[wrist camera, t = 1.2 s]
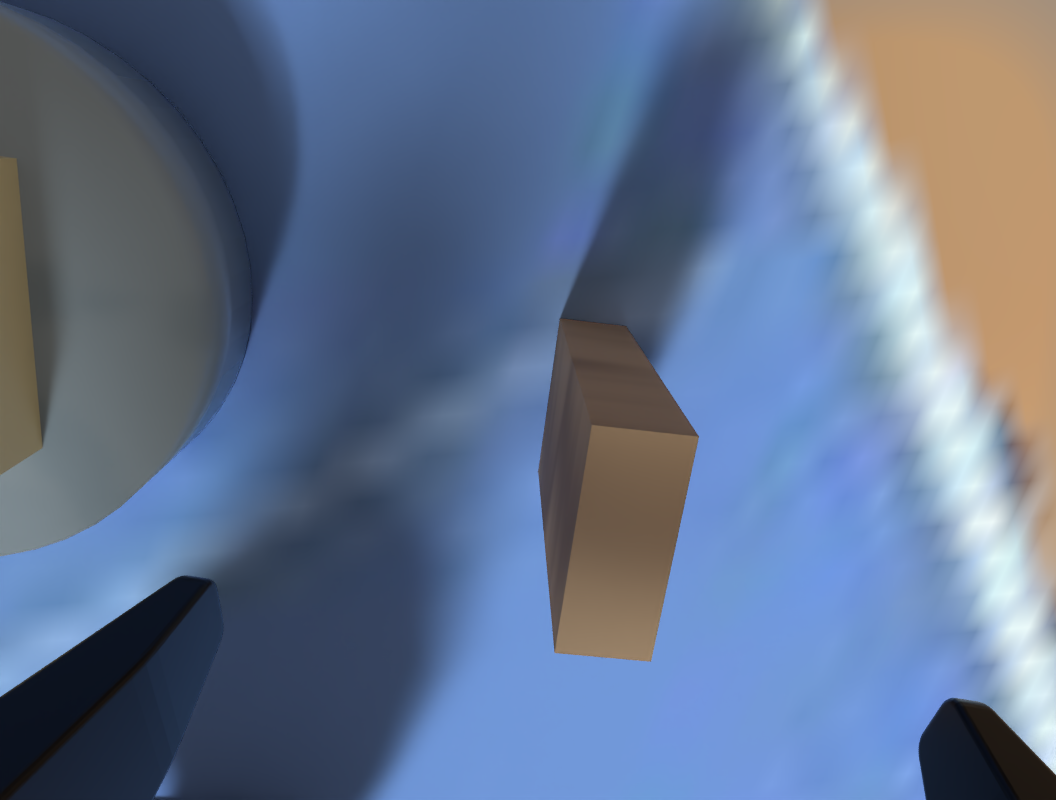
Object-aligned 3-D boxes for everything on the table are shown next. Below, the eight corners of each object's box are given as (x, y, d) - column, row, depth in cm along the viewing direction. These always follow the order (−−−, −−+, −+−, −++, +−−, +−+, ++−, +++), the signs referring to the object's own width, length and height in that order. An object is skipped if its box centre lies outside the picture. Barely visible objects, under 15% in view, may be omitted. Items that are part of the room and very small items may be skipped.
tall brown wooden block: (600, 477, 24) (650, 661, 15) (538, 471, 24) (554, 653, 15) (625, 325, 22) (698, 436, 14) (559, 318, 22) (592, 425, 14)
